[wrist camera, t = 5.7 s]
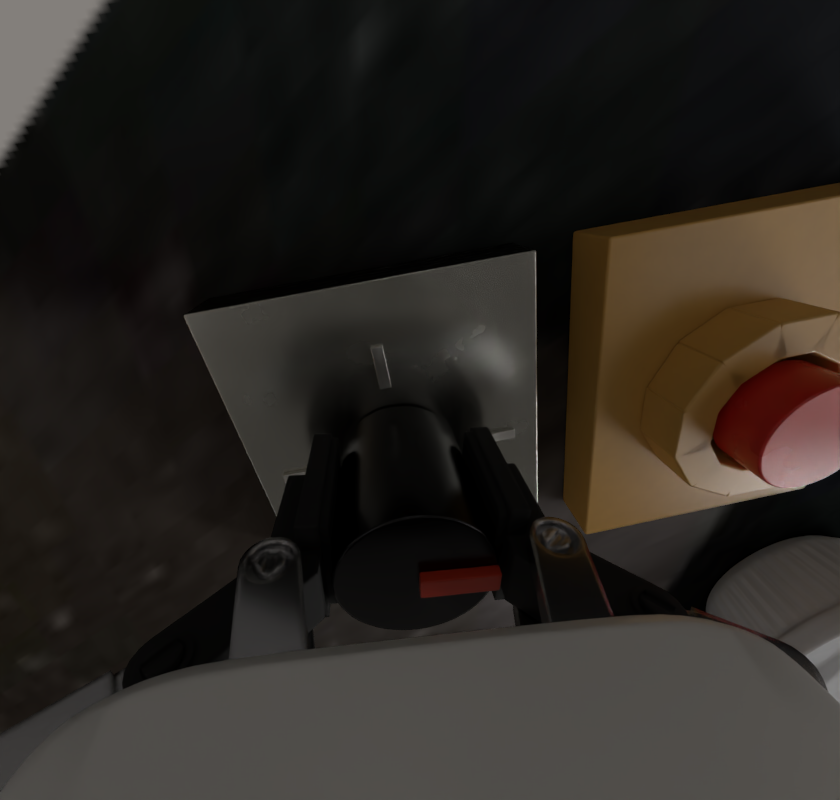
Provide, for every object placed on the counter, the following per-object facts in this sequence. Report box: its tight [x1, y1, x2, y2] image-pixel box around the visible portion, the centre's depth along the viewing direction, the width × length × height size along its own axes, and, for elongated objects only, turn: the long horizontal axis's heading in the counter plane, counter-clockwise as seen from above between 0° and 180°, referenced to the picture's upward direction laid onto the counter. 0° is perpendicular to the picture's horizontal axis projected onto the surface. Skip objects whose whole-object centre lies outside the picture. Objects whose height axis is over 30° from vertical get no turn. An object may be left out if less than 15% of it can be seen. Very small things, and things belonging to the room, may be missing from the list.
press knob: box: [713, 360, 840, 488], centre depth 12 cm, size 4×4×2 cm
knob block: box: [563, 183, 840, 534], centre depth 14 cm, size 12×10×4 cm
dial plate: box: [183, 243, 538, 517], centre depth 14 cm, size 12×10×2 cm
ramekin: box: [706, 535, 840, 703], centre depth 22 cm, size 11×11×5 cm
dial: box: [331, 406, 502, 630], centre depth 11 cm, size 4×4×5 cm
